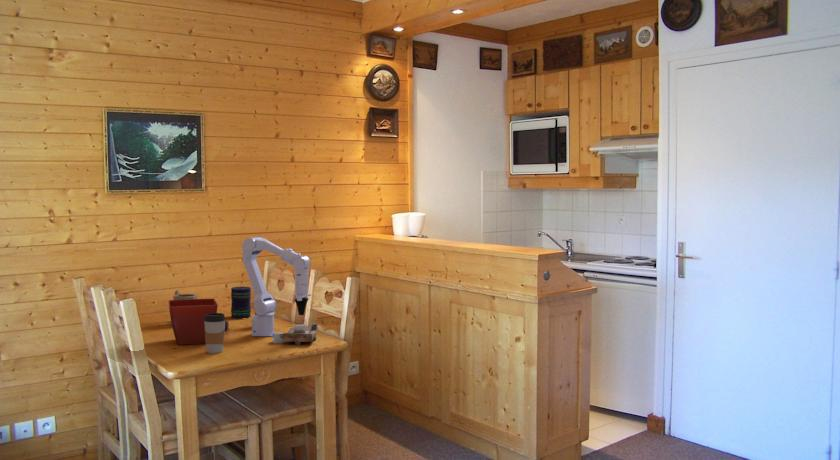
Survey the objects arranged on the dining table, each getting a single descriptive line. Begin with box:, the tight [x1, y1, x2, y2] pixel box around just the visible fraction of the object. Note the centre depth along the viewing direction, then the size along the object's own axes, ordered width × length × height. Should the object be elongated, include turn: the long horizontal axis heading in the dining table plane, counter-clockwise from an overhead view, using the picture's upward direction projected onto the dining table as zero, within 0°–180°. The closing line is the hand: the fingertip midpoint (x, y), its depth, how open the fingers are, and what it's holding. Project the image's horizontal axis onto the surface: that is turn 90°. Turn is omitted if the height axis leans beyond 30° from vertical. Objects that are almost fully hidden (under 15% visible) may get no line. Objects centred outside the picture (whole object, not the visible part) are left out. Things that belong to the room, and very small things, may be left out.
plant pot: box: [167, 298, 218, 346], centre depth 298 cm, size 19×19×17 cm
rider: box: [293, 324, 306, 333], centre depth 301 cm, size 4×4×4 cm
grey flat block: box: [282, 322, 319, 346], centre depth 305 cm, size 13×22×5 cm, turn 2°
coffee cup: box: [204, 312, 226, 354], centre depth 280 cm, size 8×8×15 cm
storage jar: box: [230, 286, 252, 320], centre depth 356 cm, size 10×10×15 cm
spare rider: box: [272, 331, 285, 344], centre depth 300 cm, size 4×4×4 cm
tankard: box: [169, 289, 198, 326], centre depth 338 cm, size 20×13×15 cm, turn 34°
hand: (301, 314), depth 308 cm, fingers closed
